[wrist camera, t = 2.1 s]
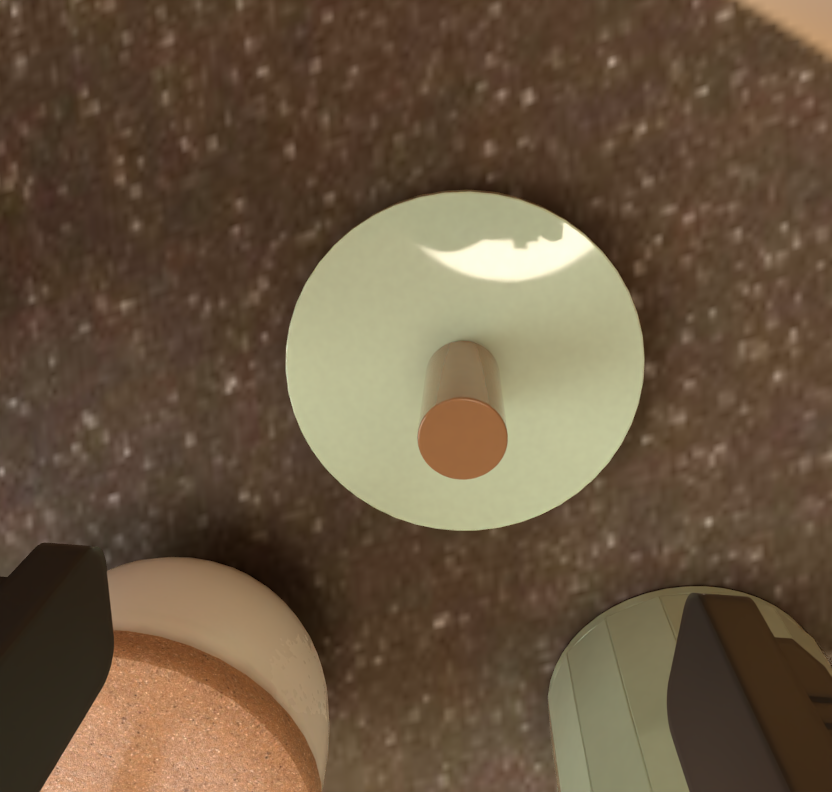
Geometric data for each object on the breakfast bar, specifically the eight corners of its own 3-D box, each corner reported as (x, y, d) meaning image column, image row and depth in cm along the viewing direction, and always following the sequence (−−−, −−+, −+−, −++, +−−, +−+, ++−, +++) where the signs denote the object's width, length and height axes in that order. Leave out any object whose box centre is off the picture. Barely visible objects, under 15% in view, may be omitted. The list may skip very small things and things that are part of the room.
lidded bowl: (240, 449, 31) (128, 632, 20) (409, 679, 34) (386, 933, 24) (2, 583, 34) (-202, 801, 23) (180, 782, 37) (72, 1047, 27)
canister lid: (635, 166, 26) (688, 191, 20) (640, 503, 30) (686, 609, 24) (263, 208, 27) (203, 243, 21) (320, 526, 32) (285, 634, 25)
